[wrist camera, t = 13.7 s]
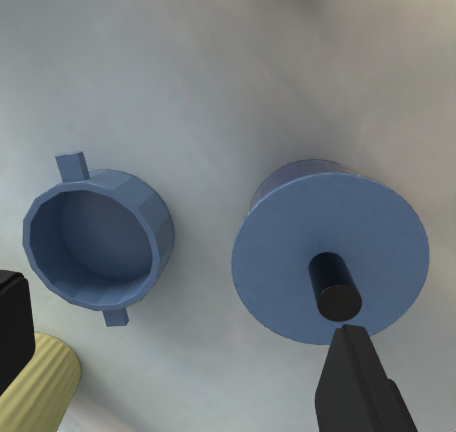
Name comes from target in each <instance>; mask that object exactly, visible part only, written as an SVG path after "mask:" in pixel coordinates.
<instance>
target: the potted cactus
mask: <svg viewBox="0 0 456 432" xmlns="http://www.w3.org/2000/svg"><path fill="white" fill-rule="evenodd" d="M34 335H35V343H36V350H35V353H34V356H33V358H32V359H31V360H30V362H29V363H28V364H27V365H26V366H25V368H24V369H23V370H22V371H21V372H20V374H19V375H18V376H17V377H16V379H15V380H14V381H13V382H12V383H11V385H10V386H9V387H8V388H7V389H6V391H5V392H4V393H3V394H2V395H1V397H0V432H57V430H58V428H59V425H60V423H61V421H62V419H63V416H64V414H65V412H66V410H67V407H68V405H69V403H70V401H71V399H72V396H73V394H74V392H75V390H76V387H77V385H78V383H79V380H80V377H81V365H80V362H79V359H78V357H77V356H76V354H75V353H74V352H73V350H72V349H71V348H70V347H69V346H67V345H66V344H65V343H64V342H62V341H61V340H59V339H57V338H55V337H53V336H50V335H47V334H43V333H34Z"/></svg>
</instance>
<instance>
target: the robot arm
mask: <svg viewBox="0 0 456 432" xmlns="http://www.w3.org/2000/svg"><path fill="white" fill-rule="evenodd" d="M35 350H36V343H35V335H34V326H33V318H32V309H31V300H30V292H29V283H28V280H27V279H26V278H24V275H23V274H22V273H20V272H14V271H8V270H0V397H1V395H2V394H3V393H4V392H5V391H6V389H7V388H8V387H9V386H10V385H11V383H12V382H13V381H14V380H15V379H16V377H17V376H18V375H19V374H20V372H21V371H22V370H23V369H24V368H25V366H26V365H27V364H28V363H29V362H30V360H31V359H32V358H33V356H34V353H35ZM315 409H316V415H317V420H318V426H319V432H418V431H417V428H416V426H415V424H414V422H413V420H412V417H411V415H410V413H409V411H408V409H407V407H406V404H405V402H404V400H403V398H402V396H401V393H400V391H399V389H398V387H397V385H396V384H395V382H394V381H393V380H391V379H388V378H387V376H386V373H385V371H384V369H383V367H382V364H381V362H380V360H379V357H378V355H377V353H376V351H375V348H374V346H373V344H372V341H371V339H370V337H369V335H368V332H367V330H366V329H365V327H362V326H356V325H350V324H343V326H342V327H341V328H336V329H335V332H334V335H333V338H332V341H331V345H330V348H329V351H328V354H327V358H326V361H325V364H324V367H323V371H322V374H321V377H320V380H319V384H318V387H317V390H316V394H315Z"/></svg>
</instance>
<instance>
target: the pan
mask: <svg viewBox="0 0 456 432" xmlns="http://www.w3.org/2000/svg"><path fill="white" fill-rule="evenodd" d="M55 157H56V161H57V164H58V167H59V171H60V174H61V177H62V180H63V182H62V183H60V184H58V185H56V186H54V187H53V188H51V189H49V190H48V191H46V192H45V193H43V194H41V195H40V196H38V197H37V198H36V199H35V200H34V202H33V204H32V206H31V207H30V209H29V211H28V213H27V214H26V216H25V218H24V220H23V247H24V249H25V252H26V255H27V257H28V260H29V263H30V266H31V268H32V270H33V271H34V272H35V273H36V274H37V276H38V277H39V278H40V279H41V280H42V282H43V283H44V284H45V285H46V287H47V288H48V289H49V290H51V291H52V292H54V293H55V294H57V295H58V296H60V297H61V298H63V299H64V300H66V301H67V302H69V303H70V304H74V305H77V306H81V307H84V308H88V309H91V310H95V311H102V312H103V315H104V318H105V321H106V325H107V327H109V326H126V325H127V323H128V322H129V318H128V314H127V310H126V307H127V306H129V305H131V304H134V303H136V302H138V301H140V300H142V299H143V297H144V296H145V295H146V294H147V293H148V291H149V290H150V289H151V288H152V286H153V285H154V284H155V283H156V281H157V279H158V277H159V276H160V274H161V272H162V270H163V269H164V267H165V265H166V263H167V262H168V260H169V258H170V253H171V250H172V247H173V242H174V228H173V223H172V219H171V216H170V213H169V211H168V209H167V207H166V205H165V203H164V202H163V200H162V199H161V198H160V196H159V195H158V194H157V193H156V192H155V191H154V190H153V189H152V188H151V187H150V186H149V185H147V184H146V183H145V182H143V181H142V180H140V179H138V178H136V177H134V176H132V175H130V174H127V173H124V172H121V171H116V170H95V171H90V172H88V169H87V165H86V161H85V158H84V154H83V151H80V152H72V153H64V154H59V155H56V156H55Z"/></svg>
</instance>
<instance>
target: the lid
mask: <svg viewBox="0 0 456 432" xmlns="http://www.w3.org/2000/svg"><path fill="white" fill-rule="evenodd" d="M231 266H232V276H233V281H234V285H235V287H236V290H237V293H238V295H239V297H240V299H241V300H242V302H243V304H244V305H245V307H246V308H247V309H248V311H249V312H250V313H251V314H252V315H253V316H254V317H255V318H256V319H257V320H258V321H259V322H260V323H262V324H263V325H264V326H265V327H267V328H268V329H270V330H272V331H273V332H275V333H277V334H279V335H281V336H283V337H286V338H289V339H291V340H294V341H298V342H302V343H307V344H315V345H331V341H332V338H333V335H334V332H335V329H336V328H341V327H342V326H343V324H350V325H356V326H362V327H365V329H366V330H367V332H368V335H369V336H371V335H374V334H376V333H378V332H380V331H381V330H383V329H385V328H387V327H388V326H389V325H391V324H392V323H394V322H395V321H396V320H397V319H399V318H400V317H401V316H402V315H403V314H404V313H405V312H406V311H407V310H408V309H409V307H410V306H411V305H412V304H413V302H414V301H415V299H416V298H417V296H418V295H419V293H420V291H421V289H422V287H423V285H424V282H425V279H426V276H427V272H428V266H429V245H428V239H427V235H426V232H425V229H424V226H423V224H422V223H421V221H420V219H419V217H418V215H417V214H416V212H415V211H414V210H413V208H412V207H411V206H410V205H409V204H408V203H407V202H406V201H405V200H404V199H403V198H402V197H401V196H400V195H398V194H397V193H396V192H394V191H393V190H391V189H390V188H389V187H387V186H385V185H383V184H381V183H379V182H377V181H375V180H372V179H369V178H367V177H364V176H359V175H355V174H350V173H338V172H333V173H319V174H313V175H308V176H304V177H301V178H297V179H294V180H292V181H290V182H288V183H285V184H283V185H281V186H280V187H278V188H276V189H274V190H273V191H271V192H270V193H269V194H267V195H266V196H265V197H263V198H262V199H261V200H260V201H259V202H258V203H257V204H256V205H255V206H254V207H253V208H252V209H251V211H250V212H249V213H248V215H247V216H246V217H245V219H244V221H243V222H242V224H241V226H240V228H239V230H238V233H237V235H236V238H235V242H234V246H233V250H232V260H231Z"/></svg>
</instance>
